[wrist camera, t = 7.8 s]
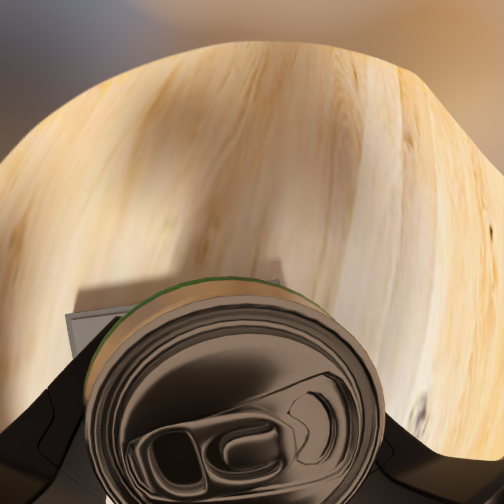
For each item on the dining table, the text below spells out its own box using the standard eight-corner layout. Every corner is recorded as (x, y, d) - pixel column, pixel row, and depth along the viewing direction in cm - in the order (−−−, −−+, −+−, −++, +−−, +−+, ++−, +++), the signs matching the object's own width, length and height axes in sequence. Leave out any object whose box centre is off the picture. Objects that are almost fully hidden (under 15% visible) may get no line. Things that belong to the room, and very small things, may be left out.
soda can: (252, 389, 14) (403, 502, 3) (161, 405, 13) (131, 574, 2) (236, 300, 15) (380, 241, 4) (143, 313, 14) (25, 287, 3)
